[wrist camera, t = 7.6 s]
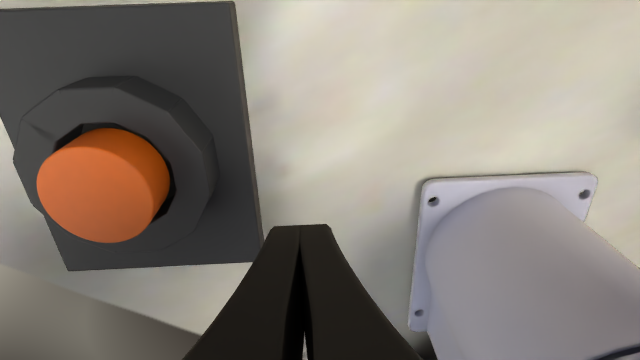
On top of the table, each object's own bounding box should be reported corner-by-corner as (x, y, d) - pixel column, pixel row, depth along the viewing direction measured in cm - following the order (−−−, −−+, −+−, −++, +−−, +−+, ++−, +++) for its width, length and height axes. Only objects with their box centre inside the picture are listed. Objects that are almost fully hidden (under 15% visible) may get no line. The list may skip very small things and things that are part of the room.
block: (264, 246, 18) (258, 289, 16) (80, 255, 18) (43, 301, 16) (235, 0, 13) (218, 3, 11) (-20, 9, 13) (-101, 14, 11)
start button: (179, 214, 14) (164, 241, 13) (85, 218, 14) (58, 246, 13) (158, 125, 13) (137, 143, 11) (51, 129, 13) (16, 149, 11)
